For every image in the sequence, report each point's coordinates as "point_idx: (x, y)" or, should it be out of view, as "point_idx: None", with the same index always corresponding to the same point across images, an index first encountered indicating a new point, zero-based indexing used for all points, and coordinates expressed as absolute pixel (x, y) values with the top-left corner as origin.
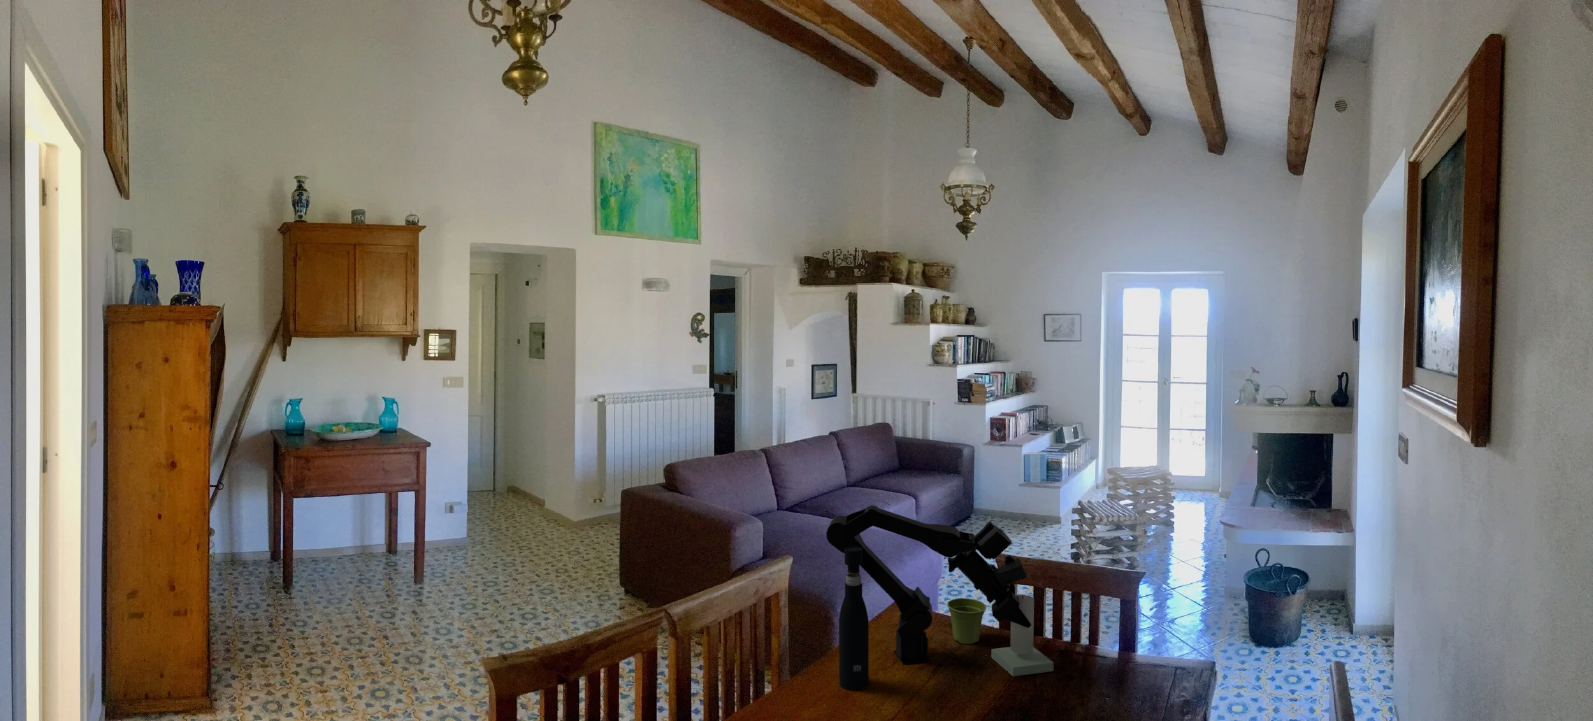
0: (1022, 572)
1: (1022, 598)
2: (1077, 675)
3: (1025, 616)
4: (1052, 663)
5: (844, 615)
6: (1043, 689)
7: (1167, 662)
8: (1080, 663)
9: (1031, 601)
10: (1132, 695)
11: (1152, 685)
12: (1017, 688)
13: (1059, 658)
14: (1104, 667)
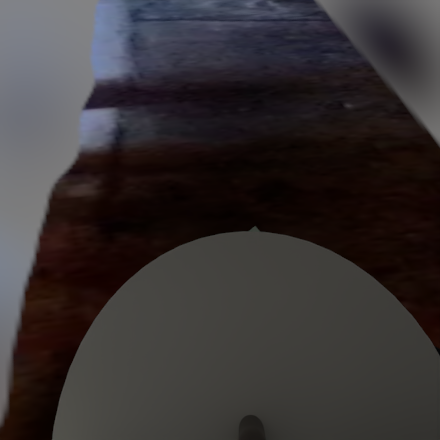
0: None
1: (267, 431)
2: (254, 174)
3: None
4: (257, 229)
5: None
6: (392, 245)
7: (115, 32)
8: (176, 175)
9: (332, 256)
10: (306, 67)
11: (238, 43)
12: (436, 322)
13: (161, 228)
14: (181, 125)
